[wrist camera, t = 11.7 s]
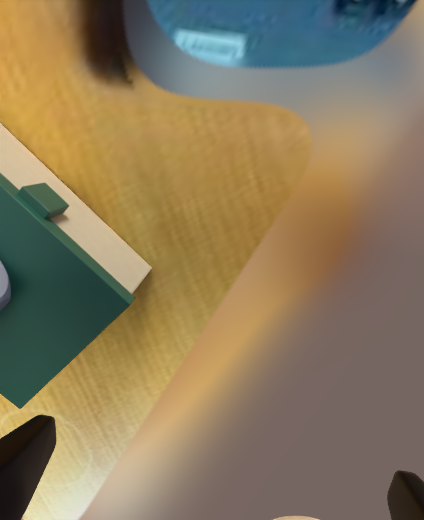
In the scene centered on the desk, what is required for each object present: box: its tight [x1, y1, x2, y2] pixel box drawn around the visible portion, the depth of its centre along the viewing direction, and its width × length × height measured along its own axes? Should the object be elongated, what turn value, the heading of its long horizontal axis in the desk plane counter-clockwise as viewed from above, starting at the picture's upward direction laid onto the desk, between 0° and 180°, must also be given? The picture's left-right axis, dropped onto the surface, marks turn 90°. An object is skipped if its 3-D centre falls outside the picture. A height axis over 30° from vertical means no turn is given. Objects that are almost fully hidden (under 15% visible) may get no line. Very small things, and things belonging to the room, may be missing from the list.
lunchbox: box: [0, 123, 152, 409], centre depth 18 cm, size 12×10×5 cm
